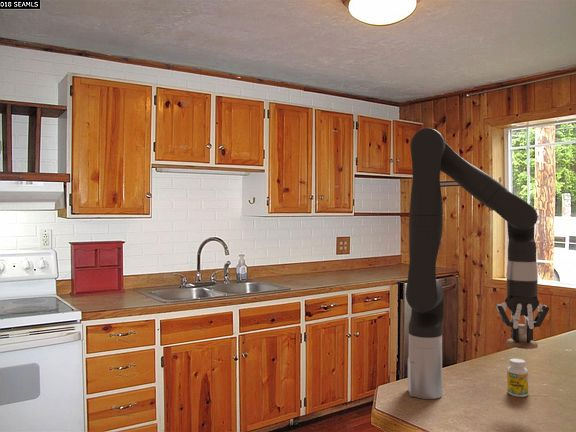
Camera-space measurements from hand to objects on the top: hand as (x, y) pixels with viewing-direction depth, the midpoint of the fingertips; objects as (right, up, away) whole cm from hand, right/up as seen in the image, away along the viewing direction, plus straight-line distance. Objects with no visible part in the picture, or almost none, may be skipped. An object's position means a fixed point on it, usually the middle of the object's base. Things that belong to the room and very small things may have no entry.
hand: (521, 341), depth 136 cm
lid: (0, -1, 0) cm, 1 cm away
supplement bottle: (+2, -17, +8) cm, 19 cm away
